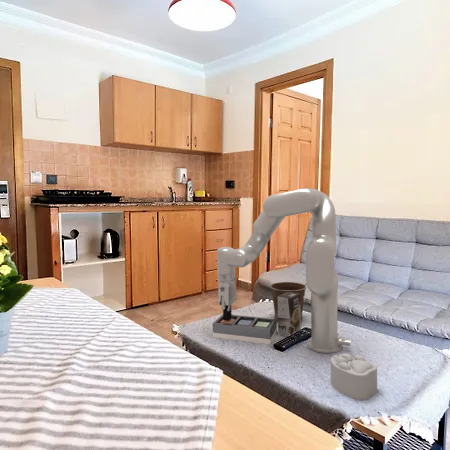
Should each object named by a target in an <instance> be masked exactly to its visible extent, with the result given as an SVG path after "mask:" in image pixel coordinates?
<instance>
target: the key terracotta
mask: <svg viewBox="0 0 450 450" xmlns="http://www.w3.org/2000/svg"><path fill="white" fill-rule="evenodd" d="M234 321H235V319H231V320H230V321H229V320H222V321H221V322H220V323H222V324H232V323H233V322H234Z"/></svg>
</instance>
